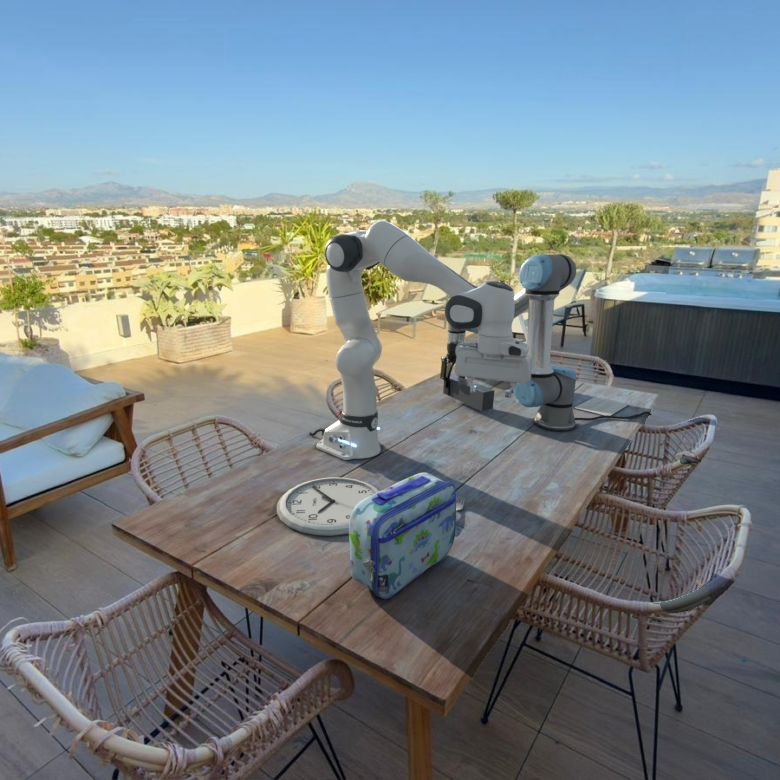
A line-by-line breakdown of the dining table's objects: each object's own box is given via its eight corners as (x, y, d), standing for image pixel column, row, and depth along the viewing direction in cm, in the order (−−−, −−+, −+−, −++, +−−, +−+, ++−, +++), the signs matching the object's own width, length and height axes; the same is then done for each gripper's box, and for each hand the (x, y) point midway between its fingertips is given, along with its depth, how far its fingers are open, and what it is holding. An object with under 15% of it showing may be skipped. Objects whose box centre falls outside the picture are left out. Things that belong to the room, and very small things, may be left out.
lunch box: (377, 612, 103) (378, 518, 97) (342, 586, 111) (341, 497, 104) (459, 557, 121) (465, 475, 115) (425, 538, 128) (428, 460, 122)
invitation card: (608, 416, 214) (573, 407, 224) (608, 416, 214) (573, 408, 224) (628, 404, 229) (594, 396, 238) (628, 405, 229) (594, 397, 238)
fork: (441, 530, 132) (442, 523, 131) (456, 501, 146) (456, 494, 145) (451, 532, 131) (452, 525, 130) (465, 502, 145) (465, 496, 144)
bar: (442, 393, 232) (443, 376, 230) (453, 391, 235) (454, 374, 232) (481, 411, 210) (483, 392, 208) (492, 409, 213) (494, 390, 211)
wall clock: (392, 527, 129) (268, 531, 127) (391, 533, 130) (269, 537, 127) (383, 473, 158) (282, 475, 155) (383, 478, 158) (282, 480, 156)
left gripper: (452, 343, 138) (450, 393, 143) (531, 351, 131) (526, 403, 135) (459, 339, 144) (456, 387, 148) (535, 346, 137) (530, 396, 141)
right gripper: (443, 345, 216) (440, 398, 223) (478, 341, 225) (475, 392, 232) (433, 342, 222) (430, 393, 229) (467, 338, 231) (464, 388, 238)
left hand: (490, 394), depth 142 cm, fingers open, 8 cm apart
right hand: (452, 393), depth 230 cm, fingers closed on bar, 6 cm apart
